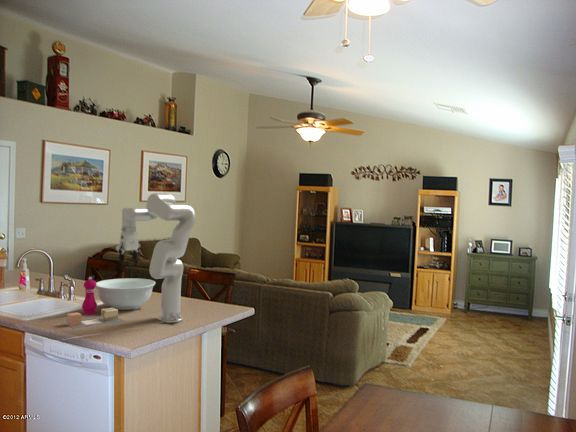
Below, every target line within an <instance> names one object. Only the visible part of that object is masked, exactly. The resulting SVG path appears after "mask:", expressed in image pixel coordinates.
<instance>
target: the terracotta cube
mask: <svg viewBox="0 0 576 432" xmlns="http://www.w3.org/2000/svg"><path fill="white" fill-rule="evenodd" d="M82 314H83V313H80V312H70V313H66V322H67V325H69V326H77V325H81V320H82V317H83V316H82ZM67 325H66V326H67ZM69 326H68V327H69Z"/></svg>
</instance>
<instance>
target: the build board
mask: <svg viewBox="0 0 576 432" xmlns="http://www.w3.org/2000/svg"><path fill="white" fill-rule="evenodd" d="M122 322H125V319H124V320H123V319H122V318H120V317H118V320H114V321H107V322H106V321H104V320H102V319H101V316H100V317H93V318H84V319H81V325H77V326H69V325H67V321H62V323H63V324H64V325H66V326H67V327H69V328H70V329H72V330H73V329H81V328H89V327H94V326H100V325H107V324H115V323H116V324H117V323H122Z"/></svg>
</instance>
